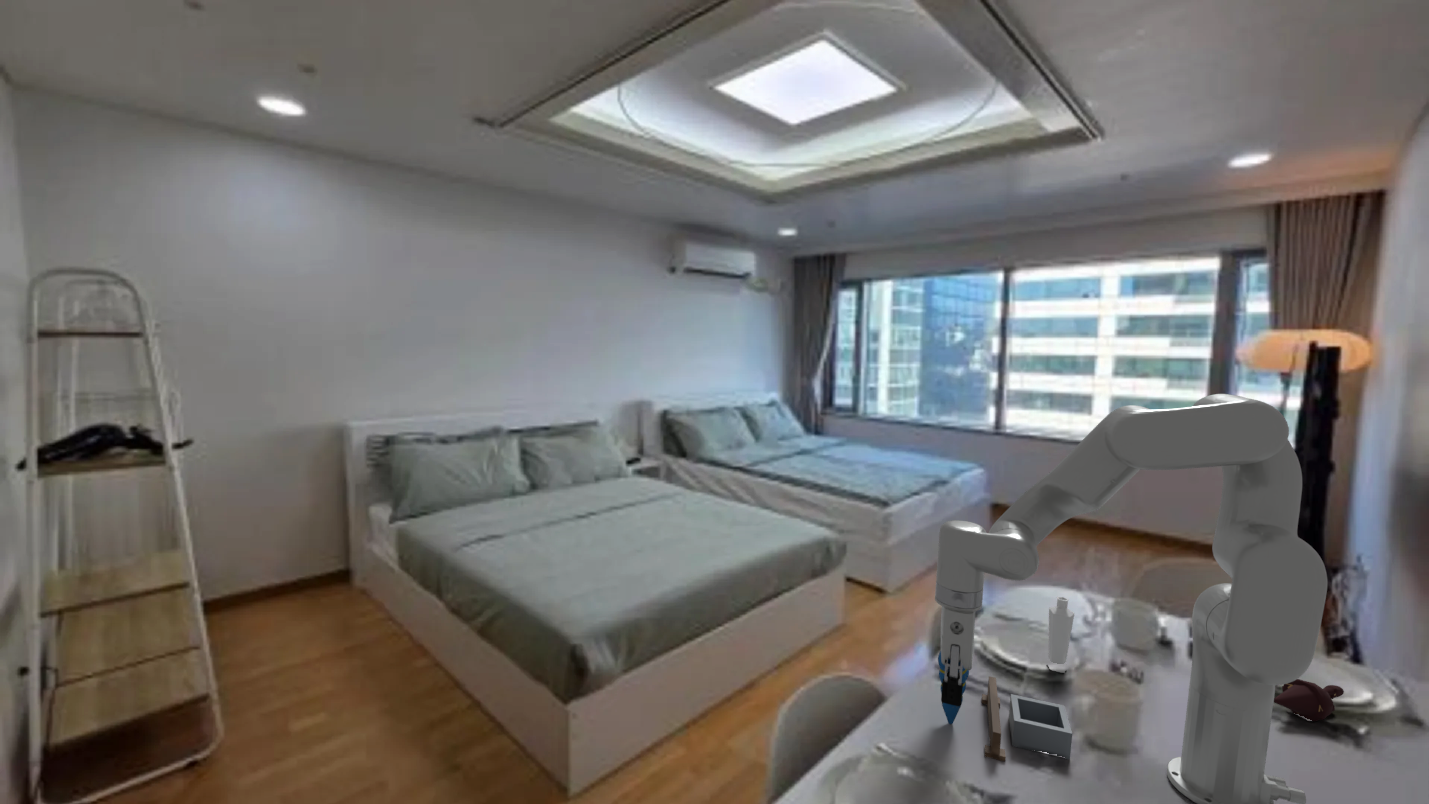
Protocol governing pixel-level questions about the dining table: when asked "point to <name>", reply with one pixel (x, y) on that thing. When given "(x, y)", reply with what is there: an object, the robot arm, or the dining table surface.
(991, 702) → the rail
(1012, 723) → the holder
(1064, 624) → the perfume bottle
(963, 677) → the ornament
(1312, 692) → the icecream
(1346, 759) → the dining table surface
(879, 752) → the dining table surface
